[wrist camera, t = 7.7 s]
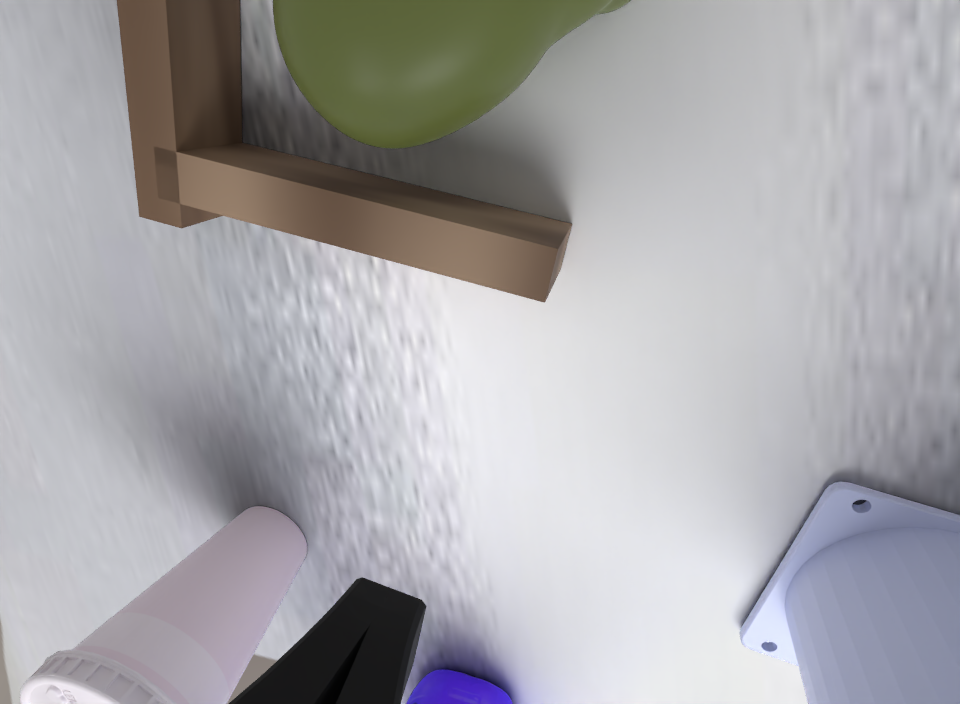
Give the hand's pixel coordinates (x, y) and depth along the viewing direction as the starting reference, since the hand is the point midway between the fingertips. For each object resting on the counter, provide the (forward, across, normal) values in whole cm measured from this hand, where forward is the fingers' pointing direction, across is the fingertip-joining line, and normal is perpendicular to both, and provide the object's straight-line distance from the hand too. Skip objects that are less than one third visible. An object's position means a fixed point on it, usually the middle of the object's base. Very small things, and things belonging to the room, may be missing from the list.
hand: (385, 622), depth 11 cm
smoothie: (+10, +9, +12) cm, 18 cm away
